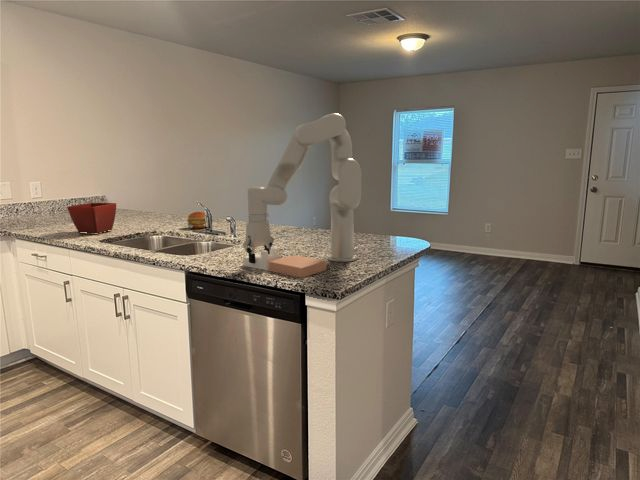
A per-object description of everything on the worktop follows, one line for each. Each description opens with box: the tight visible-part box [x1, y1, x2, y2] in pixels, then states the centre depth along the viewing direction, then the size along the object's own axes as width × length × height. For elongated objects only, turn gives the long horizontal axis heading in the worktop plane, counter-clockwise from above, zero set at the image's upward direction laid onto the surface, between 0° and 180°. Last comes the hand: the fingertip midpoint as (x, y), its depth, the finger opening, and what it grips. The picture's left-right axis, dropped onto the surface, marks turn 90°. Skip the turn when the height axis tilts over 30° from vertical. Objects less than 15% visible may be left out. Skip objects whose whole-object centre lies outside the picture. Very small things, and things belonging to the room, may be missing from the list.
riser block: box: [269, 254, 327, 278], centre depth 173 cm, size 14×17×4 cm
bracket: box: [242, 247, 280, 271], centre depth 180 cm, size 13×7×8 cm, turn 53°
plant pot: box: [66, 202, 117, 233], centre depth 263 cm, size 19×19×17 cm
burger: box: [187, 211, 206, 230], centre depth 276 cm, size 13×14×10 cm
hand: (259, 260), depth 180 cm, fingers closed on bracket, 7 cm apart
